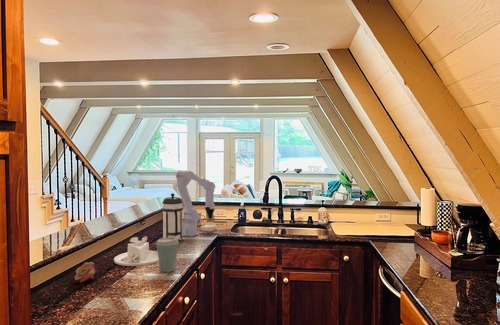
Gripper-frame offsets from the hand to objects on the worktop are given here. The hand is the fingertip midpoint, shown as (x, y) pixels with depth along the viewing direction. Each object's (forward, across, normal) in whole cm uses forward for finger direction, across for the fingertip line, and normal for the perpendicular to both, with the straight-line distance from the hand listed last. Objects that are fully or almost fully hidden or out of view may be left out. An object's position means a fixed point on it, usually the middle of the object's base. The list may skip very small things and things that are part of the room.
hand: (209, 217), depth 265 cm
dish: (+9, -57, +49) cm, 76 cm away
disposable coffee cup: (+9, -81, +37) cm, 89 cm away
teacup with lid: (+9, +22, +5) cm, 25 cm away
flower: (+9, -85, +72) cm, 112 cm away
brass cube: (+2, 0, 0) cm, 3 cm away
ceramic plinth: (+9, +1, 0) cm, 9 cm away
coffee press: (+9, -25, +28) cm, 39 cm away
